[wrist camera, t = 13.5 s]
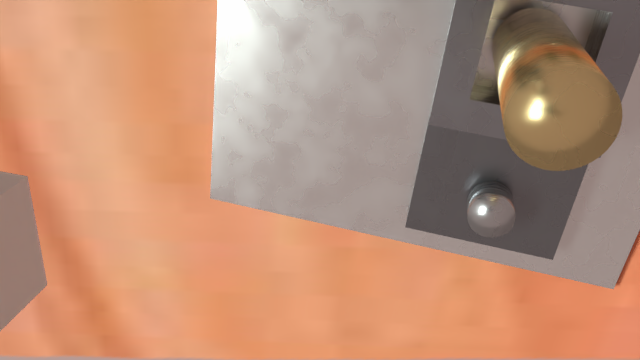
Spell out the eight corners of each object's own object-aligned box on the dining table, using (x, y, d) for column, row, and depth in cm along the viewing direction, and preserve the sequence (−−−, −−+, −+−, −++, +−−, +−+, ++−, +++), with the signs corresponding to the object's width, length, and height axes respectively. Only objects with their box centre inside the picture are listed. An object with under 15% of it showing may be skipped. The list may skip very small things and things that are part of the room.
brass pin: (502, 2, 31) (520, 56, 20) (580, 14, 30) (640, 77, 20) (483, 74, 33) (491, 159, 22) (556, 87, 32) (600, 180, 22)
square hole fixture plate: (233, -308, 28) (184, -350, 23) (847, -253, 24) (941, -290, 19) (213, 195, 41) (179, 234, 36) (611, 284, 37) (633, 342, 32)
